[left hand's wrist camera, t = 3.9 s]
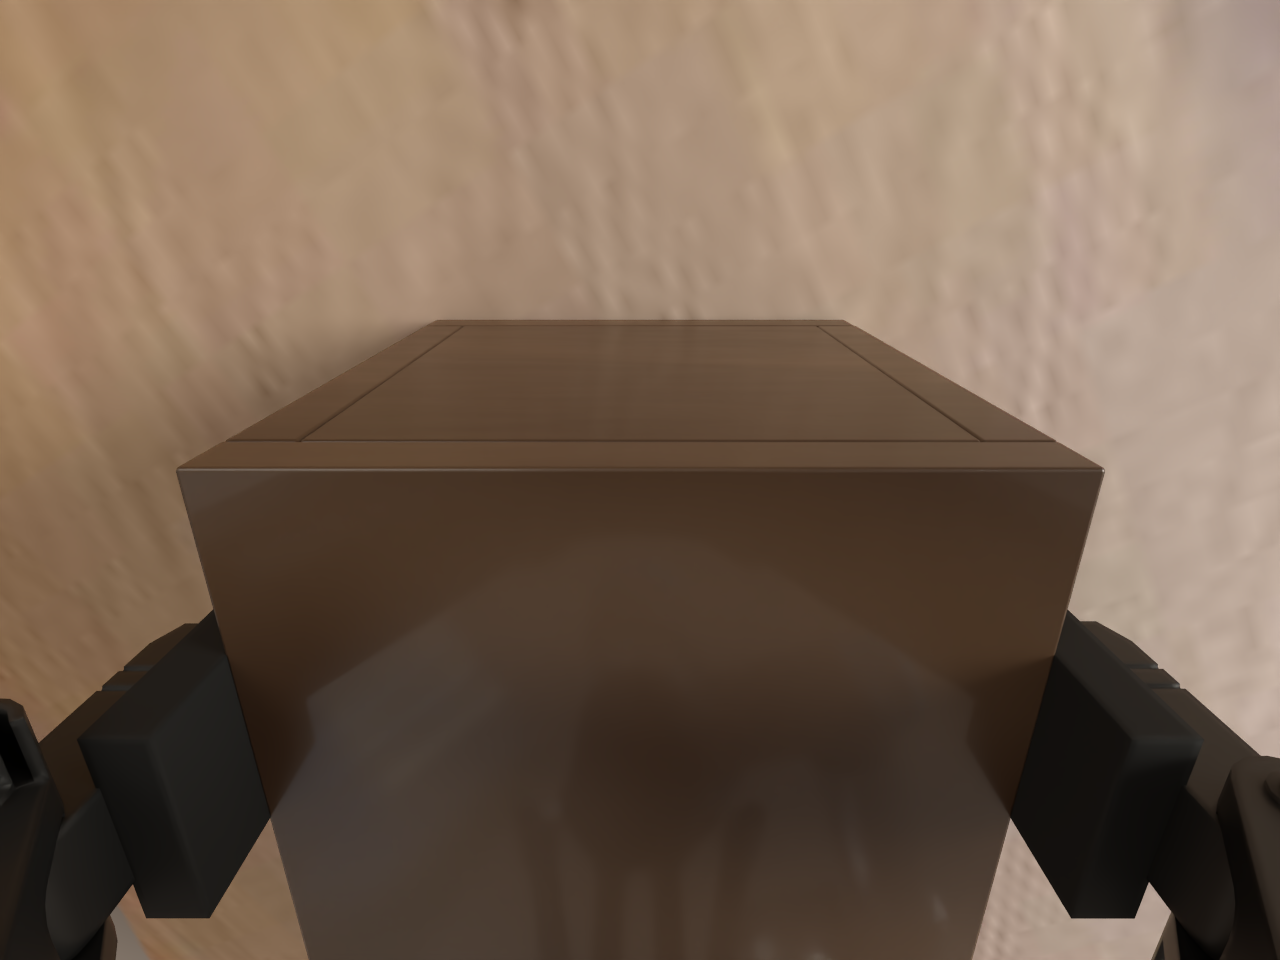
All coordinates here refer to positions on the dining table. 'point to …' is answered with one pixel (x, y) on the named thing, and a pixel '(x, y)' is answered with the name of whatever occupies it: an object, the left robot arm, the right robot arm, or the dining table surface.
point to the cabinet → (640, 640)
